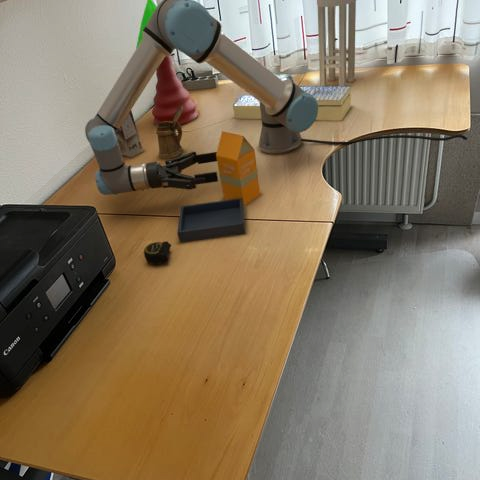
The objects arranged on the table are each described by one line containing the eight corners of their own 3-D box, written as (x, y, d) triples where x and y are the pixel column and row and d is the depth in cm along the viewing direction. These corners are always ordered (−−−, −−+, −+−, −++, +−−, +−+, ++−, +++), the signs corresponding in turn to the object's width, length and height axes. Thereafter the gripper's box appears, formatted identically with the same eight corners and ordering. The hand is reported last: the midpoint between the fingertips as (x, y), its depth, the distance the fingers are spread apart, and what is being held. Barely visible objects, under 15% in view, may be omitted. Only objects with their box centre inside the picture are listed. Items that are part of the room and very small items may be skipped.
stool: (346, 91, 205) (347, -7, 181) (313, 89, 212) (310, -5, 189) (360, 78, 213) (363, -16, 190) (328, 77, 221) (327, -14, 197)
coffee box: (144, 151, 188) (131, 109, 177) (131, 158, 185) (118, 115, 174) (130, 147, 193) (117, 106, 182) (117, 153, 190) (103, 112, 179)
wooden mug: (186, 160, 176) (175, 110, 164) (155, 158, 181) (142, 109, 169) (197, 149, 182) (187, 100, 170) (166, 148, 187) (154, 100, 175)
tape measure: (169, 265, 128) (165, 254, 126) (144, 267, 129) (140, 256, 127) (172, 250, 133) (169, 239, 131) (148, 253, 134) (145, 241, 132)
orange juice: (244, 205, 146) (234, 141, 132) (223, 198, 151) (212, 136, 137) (260, 194, 149) (252, 130, 136) (240, 188, 154) (230, 125, 141)
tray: (243, 207, 145) (242, 197, 143) (245, 233, 134) (243, 223, 132) (183, 215, 147) (180, 206, 144) (179, 242, 136) (177, 232, 134)
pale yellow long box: (351, 106, 192) (351, 78, 185) (340, 121, 182) (340, 92, 175) (248, 105, 209) (245, 79, 202) (234, 118, 200) (230, 92, 193)
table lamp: (187, 127, 200) (159, 0, 170) (146, 127, 207) (112, 5, 176) (205, 109, 213) (183, -12, 183) (166, 110, 220) (138, -7, 189)
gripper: (156, 169, 157) (220, 160, 155) (146, 208, 138) (219, 197, 136) (149, 147, 152) (216, 137, 150) (139, 184, 133) (214, 173, 131)
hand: (217, 166), depth 143 cm, fingers open, 13 cm apart
